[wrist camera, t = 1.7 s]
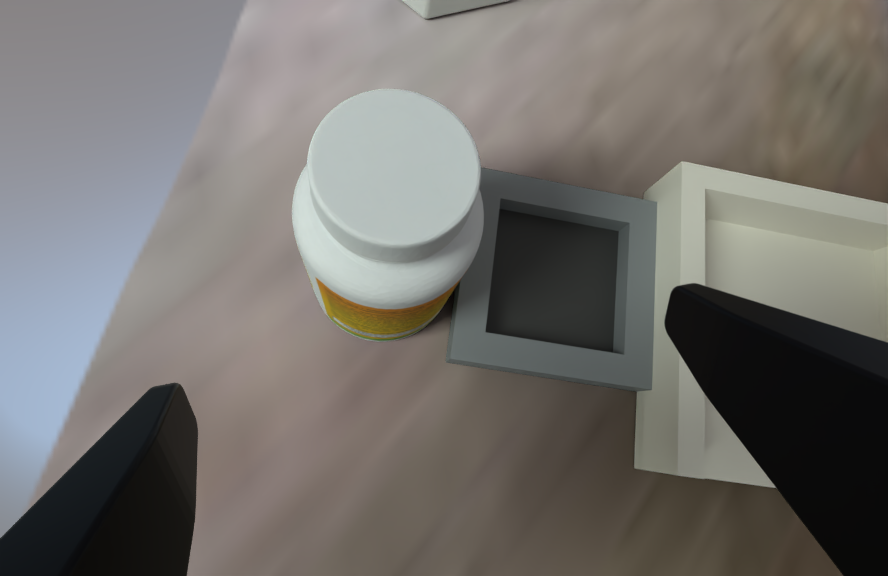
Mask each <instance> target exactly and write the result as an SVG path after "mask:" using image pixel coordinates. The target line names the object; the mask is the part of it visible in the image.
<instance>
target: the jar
mask: <svg viewBox="0 0 888 576" xmlns="http://www.w3.org/2000/svg"><path fill="white" fill-rule="evenodd" d="M401 1H403V2H404V3H405V4H406V5H408V6H409V7H410V8H411V9H413V10H414V11H415V12H416V13H418V14H419V15H420V16H421V17H423V18H424V19H429V18H434V17H438V16H443V15H447V14H452V13H456V12H461V11H466V10H470V9H475V8H479V7H484V6H489V5H493V4H498V3H502V2H507V1H510V0H401Z"/></svg>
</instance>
